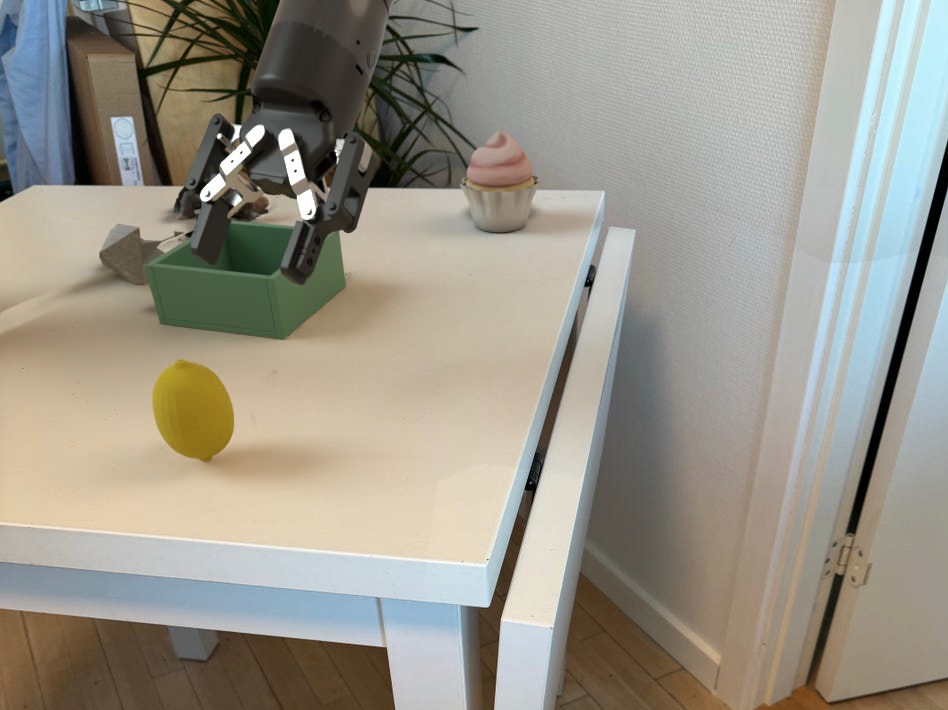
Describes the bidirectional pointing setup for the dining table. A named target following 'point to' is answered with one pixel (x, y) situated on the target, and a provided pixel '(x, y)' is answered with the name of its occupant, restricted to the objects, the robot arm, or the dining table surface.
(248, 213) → the stuffed animal
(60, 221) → the dining table surface
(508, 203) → the cupcake
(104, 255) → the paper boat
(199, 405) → the lemon
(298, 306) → the bin
